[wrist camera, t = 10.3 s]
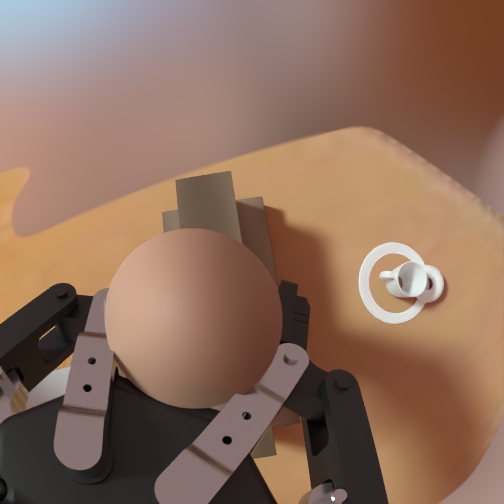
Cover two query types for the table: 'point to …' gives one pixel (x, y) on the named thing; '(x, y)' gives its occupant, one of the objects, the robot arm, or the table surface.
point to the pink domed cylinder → (193, 318)
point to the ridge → (235, 226)
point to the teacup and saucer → (412, 279)
